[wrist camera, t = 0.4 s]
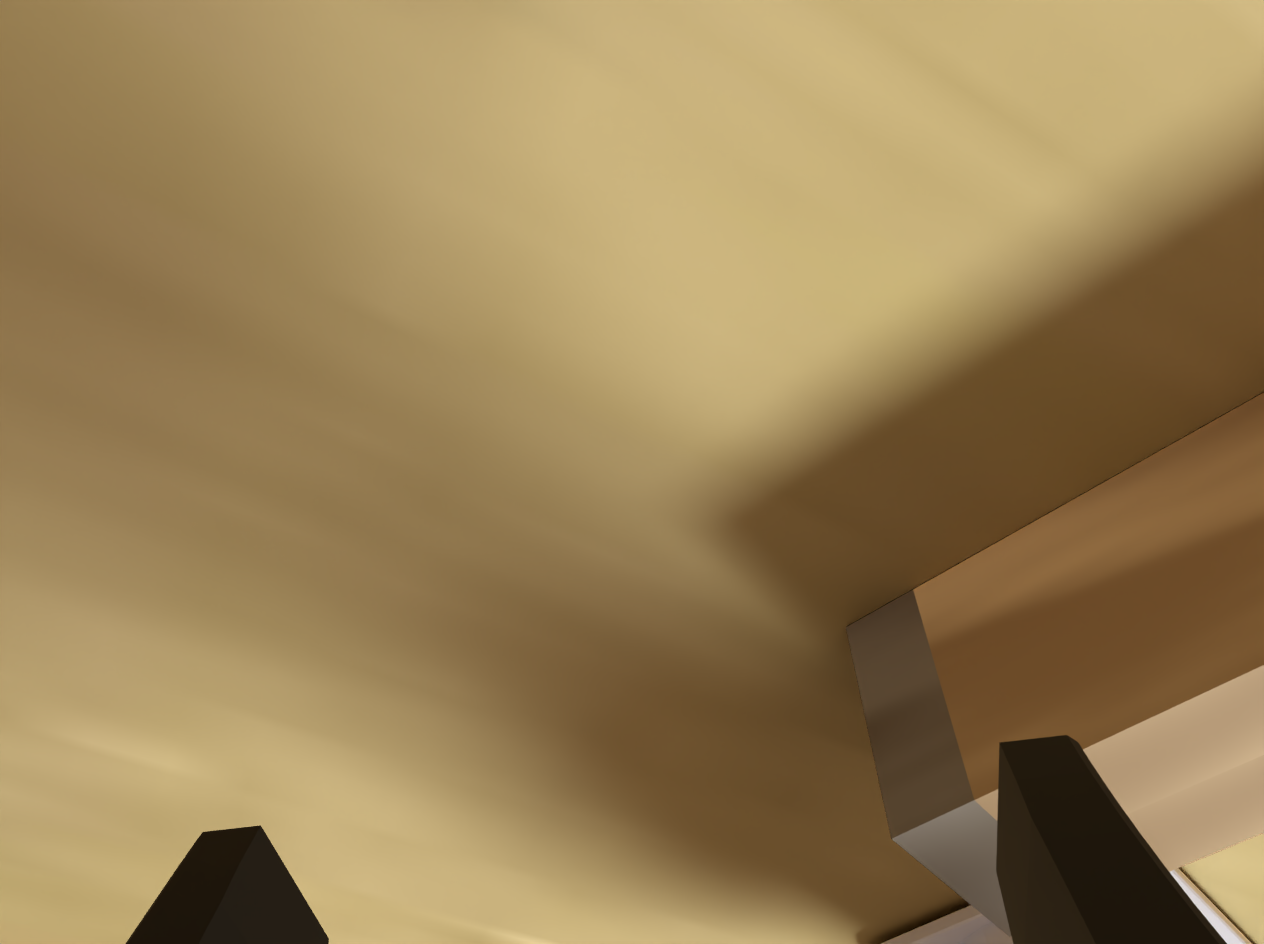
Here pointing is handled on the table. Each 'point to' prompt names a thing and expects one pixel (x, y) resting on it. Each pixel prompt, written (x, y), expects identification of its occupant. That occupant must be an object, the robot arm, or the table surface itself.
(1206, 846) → the tan wooden bar
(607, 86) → the table surface
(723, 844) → the table surface
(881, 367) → the table surface
